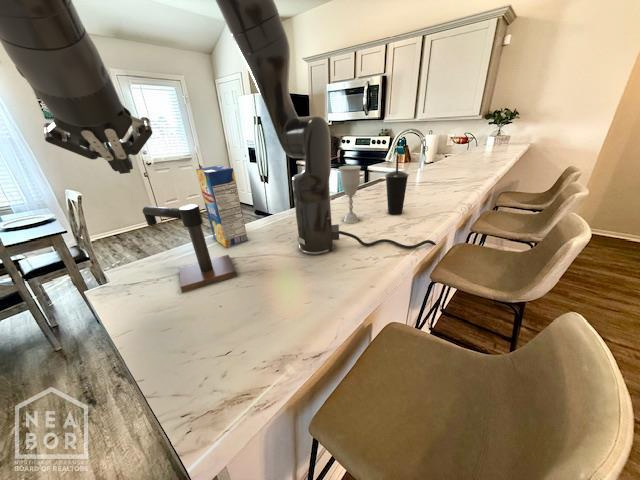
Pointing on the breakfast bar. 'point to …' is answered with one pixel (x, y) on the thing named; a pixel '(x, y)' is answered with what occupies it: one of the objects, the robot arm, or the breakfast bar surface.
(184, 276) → the base
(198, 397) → the breakfast bar surface
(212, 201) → the blue and yellow box
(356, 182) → the chalice
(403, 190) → the drinking cup
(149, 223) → the spout
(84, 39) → the robot arm
